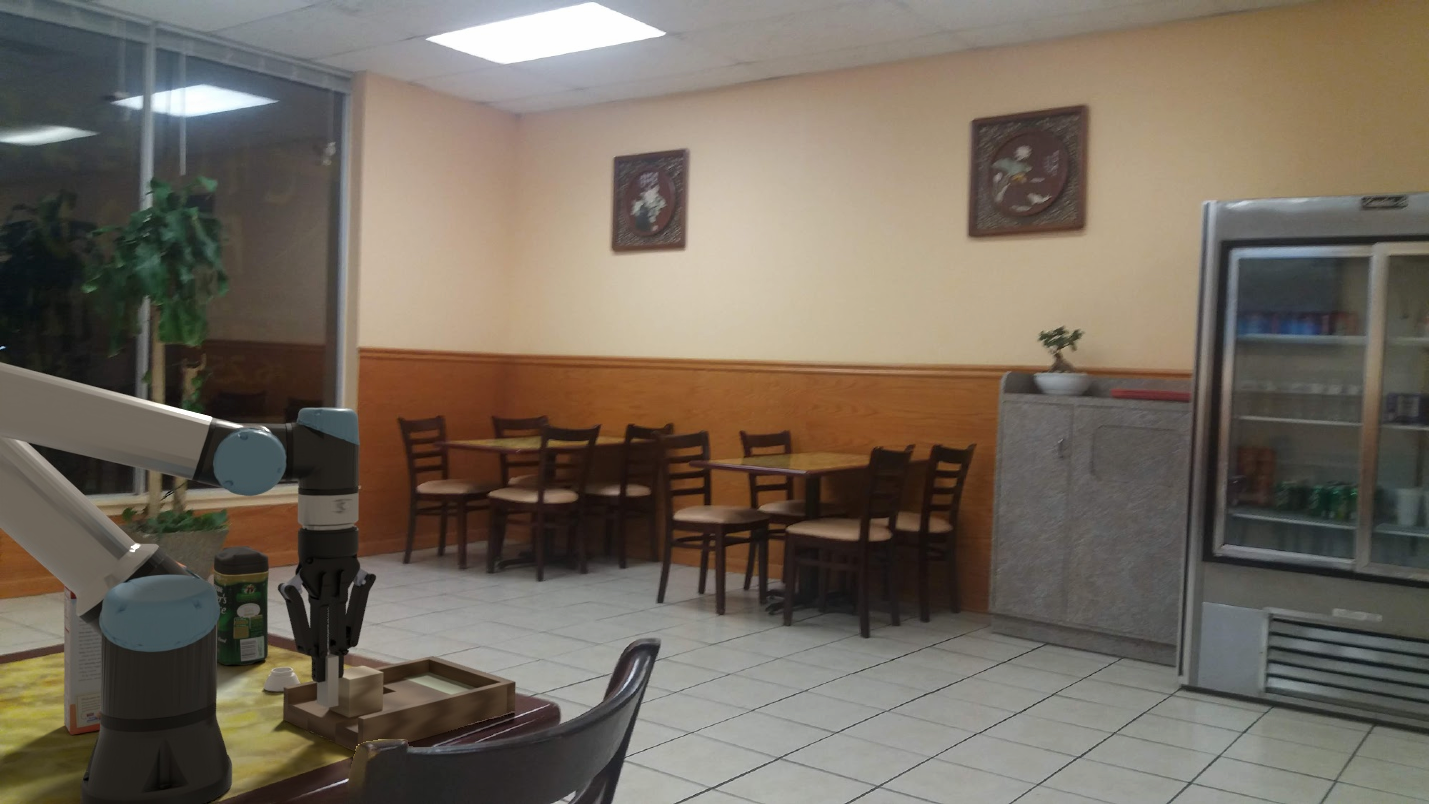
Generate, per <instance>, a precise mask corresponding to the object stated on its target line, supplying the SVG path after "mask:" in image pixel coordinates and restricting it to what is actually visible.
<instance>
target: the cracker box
mask: <svg viewBox="0 0 1429 804" xmlns="http://www.w3.org/2000/svg"><path fill="white" fill-rule="evenodd" d="M175 561H176V562H177V563H178V564H179V565H180V566H181V567H182V568H184V569H185V570H188V567H187V566H186V565H184V564H182V563H181V562H178V561H177V560H175ZM63 586H64V594H63V595H64V599H63V600H64V603H63V604H64V606H63V609H64V610H63V611H64V612H63V613H64V615H63V616H64V618H63V620H64V621H63V626H64V627H63V628H64V629H63V630H64V633H63V635H64V636H63V639H64V641H63V642H64V643H63V646H64V647H63V648H64V649H63V653H64V655H63V657H64V658H63V659H64V660H63V661H64V662H63V663H64V665H63V666H64V667H63V668H64V673H63V674H64V676H63V683H64V685H63V687H64V688H63V692H64V693H63V710H64V711H63V717H64V720H63V721H64V722H63V723H64V726H65V727H66V730H67V731H68V733H69V734H70V735H71V736H72V735H78V734H85V733H91V732H96V731H97V732H98V731H100V713H101V711H100V706H101V636H100V635H99V634H98V633H97V632H96V631H95V630H93V629H92V628H91V627H90V626H89V625H88V624H87V623H86V622H84V621H83V620H82V619H81V618H80V617H79V616H78V615H77V614H76V607H77V598H76V595H75V594H74V593H73V592H72V591H71V590H70V589H69V588H68V587H67V586H65V585H64V584H63Z"/></svg>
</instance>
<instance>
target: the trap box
mask: <svg viewBox="0 0 1429 804" xmlns="http://www.w3.org/2000/svg"><path fill="white" fill-rule="evenodd" d="M372 669H375V670H378V671H381V672H383V709H382V710H378V711H374V712H370V713H366V714H362V715H358V716H353V717H346V716H344V715H342V714H339V713H337V712H334V711H332V710H329V708H327V707H324V706H322V705H319V704H317V682H315V681H313V680H310V681H306V682H300V684H296V685H291V686H286V687H284V692H283V707H282V709H283V710H282V712H283V714H282V719H283V721H285V722H287V723H290V724H292V725H294V726H297V727H298V728H301V729H303V730H306V731H308V732H310V733H312V734H314V735H316V736H319V737H321V738H323V739H325V740H327V741H330V742H332V743H335V744H337V745H340V746H341V747H344V748H346V749H348V750H350V751H353V752H355V749H356V746H358V744H361V743H363V742H366V741H373V740H378V739H407V740H408V741H409V743H412V742H416V741H419V740H420V741H421V740H423V739H427V738H430V737H433V736H437V735H440V734H445V733H448V731H449V732H452V731H455V730H454V729H456V730H459V729H458V728H459V727H462V726H466V725H468V724H471V723H475V722H477V721H482V720H485V719H489V718H492V717H494V716H501V715H503V714H506V713H509V712H511V711H515V712H516V688H517V687H516V685H517V683H516V681H514V680H511V679H508V678H504V677H501V676H497V675H495V674H491V673H489V672H486V671H482V670H479V669H475V668H472V667H470V666H466V665H463V664H459V663H456V662H453V661H450V660H447V659H443V658H441V657H437V656H434V655H430V656H427V657H421V658H416V659H412V660H408V661H407V660H406V661H403V662H398V663H393V664H388V665H383V666H377V667H374V668H373V667H372ZM451 730H452V731H451Z"/></svg>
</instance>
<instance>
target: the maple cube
mask: <svg viewBox="0 0 1429 804" xmlns="http://www.w3.org/2000/svg"><path fill="white" fill-rule="evenodd" d="M382 709H383V672H381V671H378V670H375V669H373V667H369V666H365V665H360V666H353V667H349V668H344V674H343V677H342V678H338V706H334V707H330V708H329V710H332V711H334V712H337V713H339V714H342V715H344V716H346V717H353V716H358V715H362V714H366V713H370V712H374V711H378V710H382Z"/></svg>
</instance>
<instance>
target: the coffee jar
mask: <svg viewBox="0 0 1429 804" xmlns="http://www.w3.org/2000/svg"><path fill="white" fill-rule="evenodd" d="M213 558H214V560H213V586H214V588H215V589H216V591H217V596H218V602H219V606H220V615H219V619H218V640H217V662H219V663H220V664H222V665H225V666H228V665H234V666H235V665H237V666H248V665H253V664H255V663H257V662H260V661H265V660H266V659H267V657H268V655H269V653H268V652H269V645H268V644H269V636H268V635H269V634H268V633H269V631H268V629H269V628H268V627H269V626H268V623H269V621H268V619H269V618H268V611H269V610H268V606H269V605H268V604H269V603H268V601H269V599H268V598H269V593H268V590H269V589H268V587H269V575H270V572H269V571H270V567H269V566H270V565H269V564H270V563H269V556H268V555H267V554H265V553H264V552H262V551H259V550H256V549H255V548H252V547H250V546H249V545H242V546H241V545H239V546H238V545H237V546H227V547H223V548H222V549H221V550H219V551H218V552H216V554H215V555H214V557H213Z"/></svg>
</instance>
